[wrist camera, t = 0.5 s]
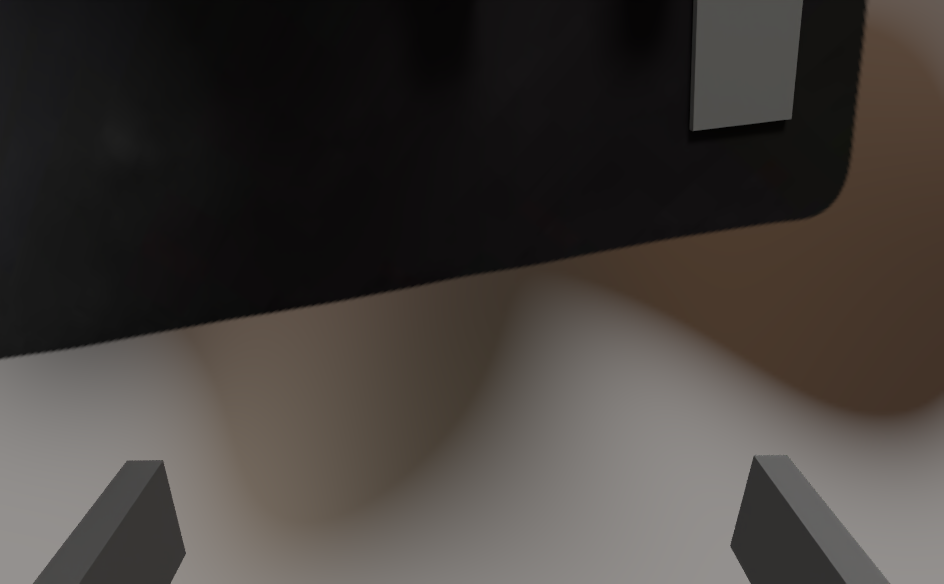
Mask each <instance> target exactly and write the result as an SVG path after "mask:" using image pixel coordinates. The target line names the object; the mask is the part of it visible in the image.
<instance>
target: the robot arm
mask: <svg viewBox="0 0 944 584" xmlns="http://www.w3.org/2000/svg"><path fill="white" fill-rule="evenodd" d="M730 546H731V548H732V550H733V552H734V553H735V555H736V557H737V559H738V561H739V563H740V565H741V566H742V568H743V570H744V572H745V574H746V576H747V577H748V579H749V581H750V583H751V584H890V583H889V582H888V581H887V579H886V578H885V577H884V576H883V574H882V573H881V572H880V570H879V569H878V568H877V567H876V565H875V564H874V563H873V562H872V561H871V559H870V558H869V557H868V556H867V554H866V553H865V552H864V550H863V549H862V548H861V547H860V545H859V544H858V543H857V542H856V541H855V539H854V538H853V537H852V536H851V534H850V533H849V532H848V531H847V529H846V528H845V527H844V526H843V524H842V523H841V522H840V521H839V519H838V518H837V517H836V516H835V514H834V513H833V512H832V511H831V509H830V508H829V507H828V506H827V504H826V503H825V502H824V501H823V500H822V498H821V497H820V496H819V494H818V493H817V492H816V491H815V489H814V488H813V487H812V486H811V484H810V483H809V482H808V481H807V479H806V478H805V477H804V476H803V474H802V473H801V472H800V471H799V470H798V469H797V467H796V466H795V465H794V463H793V462H792V461H791V460H790V459H789V457H788V456H787V455H771V456H770V455H767V456H754V457H753V461H752V465H751V469H750V473H749V476H748V480H747V484H746V488H745V492H744V496H743V500H742V503H741V507H740V511H739V515H738V518H737V522H736V526H735V530H734V534H733V537H732V541H731V545H730ZM185 554H186V552H185V548H184V544H183V540H182V536H181V532H180V528H179V524H178V520H177V516H176V511H175V507H174V504H173V500H172V495H171V491H170V487H169V483H168V479H167V475H166V471H165V467H164V463H163V460H161V461H160V460H156V461H154V460H152V461H127V462H126V463H125V464H124V465H123V467H122V468H121V469H120V471H119V472H118V473H117V475H116V476H115V477H114V479H113V480H112V481H111V482H110V484H109V485H108V486H107V488H106V489H105V490H104V492H103V493H102V494H101V496H100V497H99V498H98V499H97V501H96V502H95V503H94V505H93V506H92V507H91V509H90V510H89V511H88V513H87V514H86V515H85V516H84V518H83V519H82V521H81V522H80V523H79V524H78V526H77V527H76V528H75V529H74V531H73V532H72V533H71V535H70V536H69V538H68V539H67V540H66V541H65V542H64V544H63V545H62V546H61V548H60V549H59V550H58V552H57V553H56V554H55V556H54V557H53V558H52V559H51V561H50V562H49V564H48V565H47V566H46V567H45V569H44V570H43V571H42V573H41V574H40V575H39V576H38V578H37V579H36V580H35V582H34V583H33V584H170V583H171V581H172V579H173V577H174V575H175V574H176V571H177V570H178V568H179V566H180V564H181V562H182V560H183V558H184V556H185Z"/></svg>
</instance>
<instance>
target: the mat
mask: <svg viewBox="0 0 944 584" xmlns="http://www.w3.org/2000/svg"><path fill="white" fill-rule="evenodd" d="M802 4H803V0H693V31H692V64H691V97H690V130H692V131H697V130H705V129H713V128H721V127H730V126H738V125H746V124H754V123H762V122H770V121H778V120H787V119H791V118H792V108H793V97H794V87H795V76H796V66H797V56H798V45H799V35H800V25H801V14H802Z"/></svg>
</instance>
